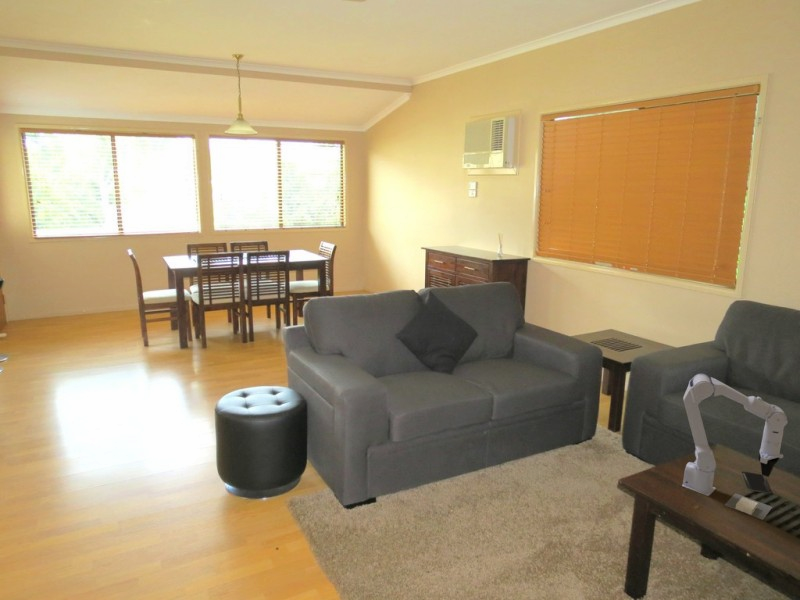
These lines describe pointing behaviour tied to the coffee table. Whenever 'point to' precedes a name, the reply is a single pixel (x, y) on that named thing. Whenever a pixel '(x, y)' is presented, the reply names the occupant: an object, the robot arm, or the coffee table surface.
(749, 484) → the phone
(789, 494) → the coffee table surface
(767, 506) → the mat
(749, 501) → the tile
